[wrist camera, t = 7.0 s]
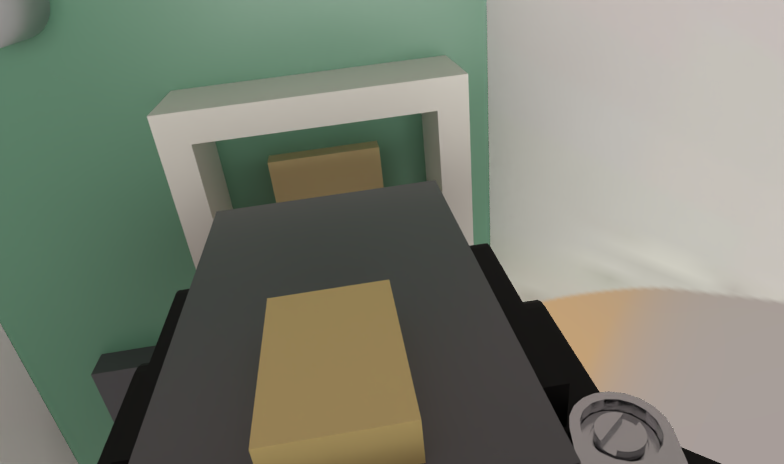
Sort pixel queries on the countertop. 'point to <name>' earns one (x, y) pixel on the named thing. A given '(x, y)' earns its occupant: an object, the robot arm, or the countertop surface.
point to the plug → (346, 344)
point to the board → (203, 154)
